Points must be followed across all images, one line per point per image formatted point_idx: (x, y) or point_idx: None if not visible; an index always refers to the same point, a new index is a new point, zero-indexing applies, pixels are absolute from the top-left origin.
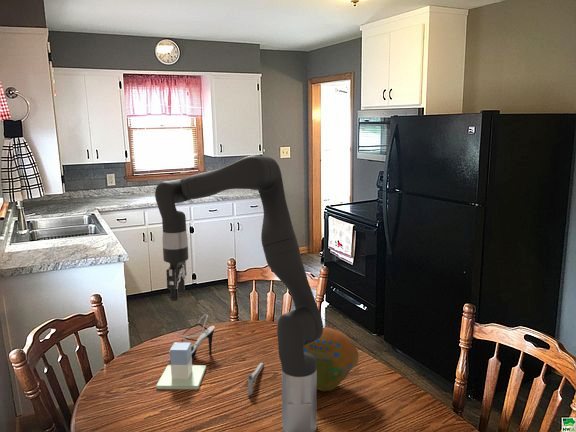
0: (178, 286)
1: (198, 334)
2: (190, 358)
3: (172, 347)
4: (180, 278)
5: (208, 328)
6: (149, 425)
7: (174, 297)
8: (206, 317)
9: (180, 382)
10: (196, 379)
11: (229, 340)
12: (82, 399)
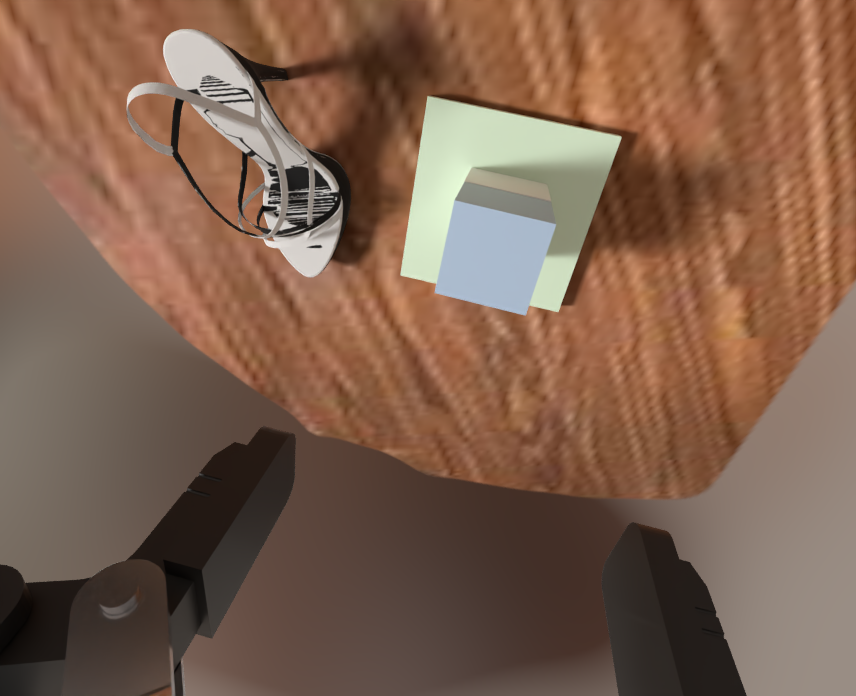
0: (261, 535)
1: (274, 149)
2: (487, 187)
3: (497, 302)
4: (177, 640)
5: (184, 81)
6: (814, 320)
7: (703, 607)
8: (170, 93)
9: (563, 219)
10: (557, 145)
11: None
12: (552, 492)
